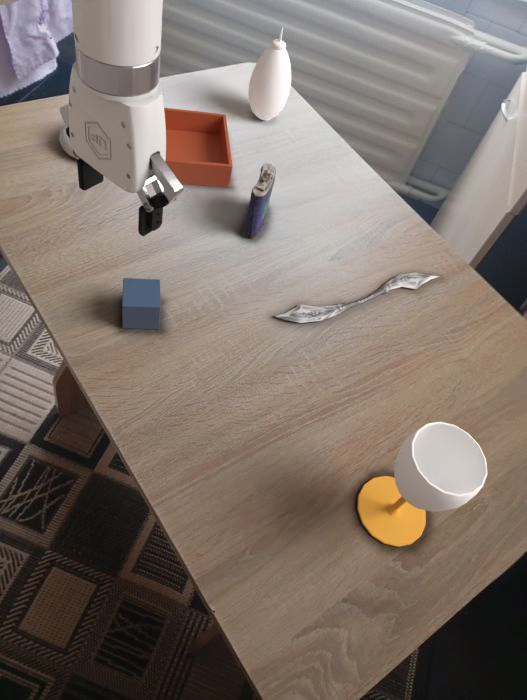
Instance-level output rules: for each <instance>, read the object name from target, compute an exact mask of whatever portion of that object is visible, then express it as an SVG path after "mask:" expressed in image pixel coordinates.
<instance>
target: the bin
mask: <svg viewBox="0 0 527 700" xmlns="http://www.w3.org/2000/svg"><path fill="white" fill-rule="evenodd" d="M164 112H165V125H166V161H165V162H166V164H167V165H168V166H169V168H170V169H171V171H172V172H173V173H174V175H175V176H176V177H177V179H178V180H179V181H180V183H181V184H182V185H184V184H185V185H196V186H207V187H219V188H221V187H222V188H229V187H230V184H231V183H230V182H231V177H232V171H233V160H232V151H231V145H230V138H229V137H230V136H229V129H228V121H227V115H226V114H225V113H216V112H207V111H199V110H190V109H180V108H172V107H164Z"/></svg>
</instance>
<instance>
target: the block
mask: <svg viewBox="0 0 527 700" xmlns="http://www.w3.org/2000/svg"><path fill="white" fill-rule="evenodd" d="M121 304H122V305H121V307H122V308H121V312H122V314H121V316H122V317H121V319H122V323H121V324H122V329H130V330H131V329H133V330H135V329H136V330H159V329H160V322H161V321H160V318H161V280H160V279H155V278H154V279H153V278H134V277H133V278H131V277H123V278H122V303H121Z"/></svg>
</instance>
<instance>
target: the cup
mask: <svg viewBox="0 0 527 700" xmlns="http://www.w3.org/2000/svg"><path fill="white" fill-rule="evenodd" d="M393 466H394V467H393V468H394V471H393V472H394V474H393V475H394V476H389V475H382V476H375V477H373V478H371V479H369V480H368V482H366V483H364V484H363V486H362V488H361V489H360V491H359V493H358V494H357V508H356V509H357V513H358V516H359V519H360V521H361V525H363V527H364V528H365V529H366V531H367V532H368V533H369V535H370V537H371V536H372V537H373V538H375V539H376V540H378V541H379V542H380V543H382V544H383V545H388V546H391V547H396V548H400V547H405V546H409V545H412V544H414V543H415V541H417V540H418V539H419V538H420V537H422V534H423V533H424V530H425V527H426V525H427V522H426V521H427V516H426V515H427V511H428V512H431V513H438V512H443V511H450V510H454V509H458V508H460V507H461V506H463V505H465V504H467V503H468V502H470V500H472V499H473V498H474V497H475V496H476V495H478V493H479V492H480V491H481V489H482V488H483V487H484V485H485V482H486V479H487V476H488V465H487V458H486V456H485V454H484V451H483V450H482V448H481V446H480V444H479V443H478V442H477V441H476V440H475V439H474V438H473V437H472V435H471V434H470V433H469V432H467V431H465V430H464V429H462V428H460V427H459V426H457V425H456V424H452V423H448V422H444V421H435V422H428V423H425V424H423V426H421V427H419V428H418V429H416V430H415V431H414V432H412V433H411V434H409V435H408V436H407V437H406V439H405V440H404V442H403V443H402V445H401V446H400V449H399V451H398V452H397V455H396V457H395V461H394V465H393Z"/></svg>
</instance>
